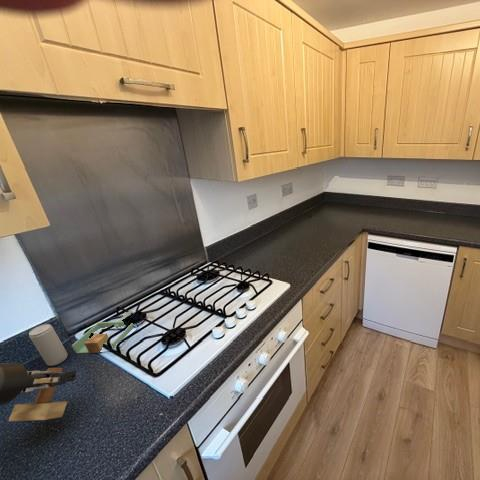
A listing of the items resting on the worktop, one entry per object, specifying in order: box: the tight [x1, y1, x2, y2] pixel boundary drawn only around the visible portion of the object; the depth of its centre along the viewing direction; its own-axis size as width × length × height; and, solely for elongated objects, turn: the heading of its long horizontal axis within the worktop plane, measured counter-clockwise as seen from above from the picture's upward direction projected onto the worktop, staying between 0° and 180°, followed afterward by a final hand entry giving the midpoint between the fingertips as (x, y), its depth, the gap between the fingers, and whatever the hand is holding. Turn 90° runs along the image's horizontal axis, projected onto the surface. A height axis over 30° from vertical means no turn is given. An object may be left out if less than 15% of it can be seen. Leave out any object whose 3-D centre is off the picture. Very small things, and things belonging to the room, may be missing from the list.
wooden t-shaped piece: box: [8, 367, 68, 422], centre depth 59 cm, size 8×4×10 cm
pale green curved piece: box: [71, 310, 134, 354], centre depth 88 cm, size 18×13×3 cm
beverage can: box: [28, 323, 69, 367], centre depth 76 cm, size 5×5×12 cm
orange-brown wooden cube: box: [84, 333, 109, 354], centre depth 81 cm, size 4×4×4 cm
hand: (67, 376), depth 64 cm, fingers closed on wooden t-shaped piece, 2 cm apart
